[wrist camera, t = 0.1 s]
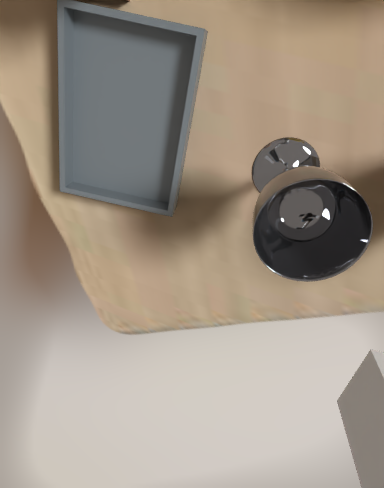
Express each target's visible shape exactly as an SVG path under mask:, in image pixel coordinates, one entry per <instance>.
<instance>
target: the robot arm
mask: <svg viewBox="0 0 384 488" xmlns="http://www.w3.org/2000/svg"><path fill="white" fill-rule="evenodd" d="M337 402H338V406H339V409H340V413H341V417H342V420H343V424H344V427H345V431H346V434H347V438H348V441H349V444H350V448H351V452H352V455H353V459H354V462H355V466H356V470H357V473H358V476H359V480H360V484H361V487H362V488H384V352H380V351H375V350H370V351H369V353H368V354H367V356H366V357H365V359H364V361H363V362H362V364H361V365H360V367H359V368H358V370H357V371H356V373H355V374H354V376H353V377H352V379H351V380H350V382H349V383H348V385H347V387H346V388H345V390H344V391H343V393H342V394H341V396H340V397H339V399H338V400H337Z"/></svg>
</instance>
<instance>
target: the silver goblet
mask: <svg viewBox="0 0 384 488" xmlns="http://www.w3.org/2000/svg"><path fill="white" fill-rule="evenodd" d="M252 176H253V181H254V184H255V186H256V188H257V190H258V191H259V192H260V194H259V197H258V199H257V201H256V205H255V208H254V212H253V222H252V231H253V241H254V246H255V249H256V252H257V254H258V256H259V258H260V259H261V261H262V262H263V263H264V264H265V265H266V266H267V267H268V268H269V269H270V270H271V271H273V272H274V273H276V274H278V275H280V276H282V277H285V278H287V279H291V280H296V281H306V282H308V281H319V280H323V279H327V278H330V277H333V276H336V275H338V274H340V273H342V272H343V271H345V270H347V269H348V268H349V267H351V266H352V265H353V264H354V263H355V262H356V261H357V260H358V259H359V258H360V257H361V256H362V254H363V253H364V252H365V250H366V248H367V246H368V244H369V242H370V239H371V236H372V229H373V221H372V215H371V212H370V209H369V207H368V205H367V203H366V202H365V200H364V199H363V197H362V196H361V195H360V194H359V192H358V191H357V190H356V189H355V188H354V187H353V186H352V185H351V184H350V183H348V182H347V181H346V180H345V179H344V178H342V177H341V176H339V175H337V174H336V173H334V172H332V171H329V170H327V169H324V168H320V161H319V157H318V155H317V153H316V151H315V150H314V148H313V147H312V146H311V145H310V144H308V143H307V142H305V141H303V140H301V139H298V138H281V139H278V140H275V141H273V142H271V143H269V144H268V145H266V146H265V147H264V148H263V149H262V150H261V151H260V152H259V154H258V155H257V157H256V159H255V161H254V164H253V169H252Z"/></svg>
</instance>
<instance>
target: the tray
mask: <svg viewBox="0 0 384 488" xmlns="http://www.w3.org/2000/svg"><path fill="white" fill-rule="evenodd" d="M57 24H58V97H59V170H60V191H61V192H65V193H70V194H74V195H78V196H83V197H87V198H92V199H96V200H100V201H105V202H109V203H113V204H118V205H122V206H127V207H131V208H135V209H140V210H144V211H149V212H153V213H157V214H162V215H166V216H171V217H172V216H173V214H174V211H175V209H176V206H177V200H178V195H179V189H180V183H181V178H182V172H183V167H184V161H185V155H186V150H187V144H188V139H189V133H190V128H191V122H192V116H193V111H194V105H195V100H196V94H197V88H198V83H199V77H200V72H201V66H202V61H203V55H204V49H205V44H206V38H207V33H208V31H207V30H205V29H202V28H198V27H193V26H189V25H184V24H179V23H175V22H170V21H166V20H161V19H156V18H152V17H147V16H143V15H138V14H133V13H129V12H124V11H120V10H115V9H110V8H106V7H101V6H97V5H92V4H87V3H83V2H78V1H74V0H57Z"/></svg>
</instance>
